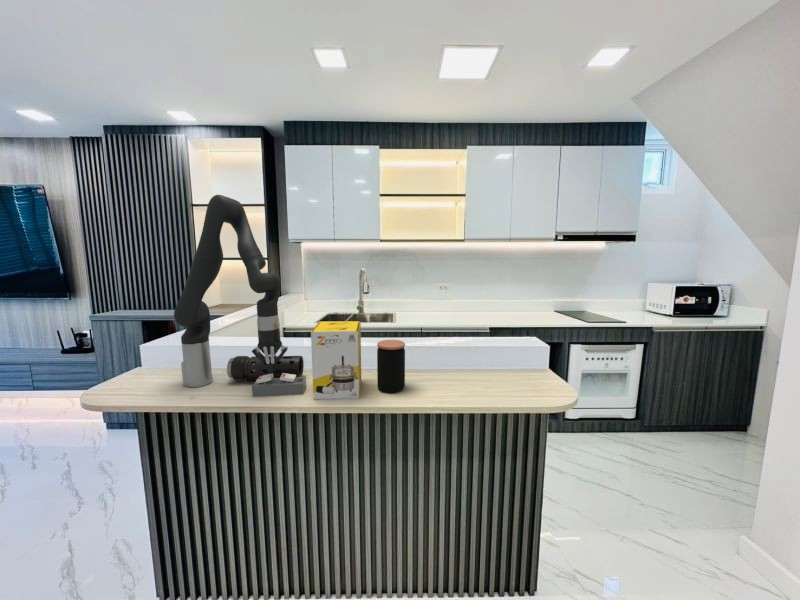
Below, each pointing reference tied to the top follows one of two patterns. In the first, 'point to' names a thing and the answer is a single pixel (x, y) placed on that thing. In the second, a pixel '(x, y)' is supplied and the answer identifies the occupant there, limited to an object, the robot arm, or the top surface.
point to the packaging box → (336, 360)
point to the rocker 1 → (265, 378)
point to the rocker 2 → (288, 377)
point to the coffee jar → (391, 366)
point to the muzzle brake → (263, 367)
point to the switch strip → (279, 387)
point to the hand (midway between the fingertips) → (271, 372)
